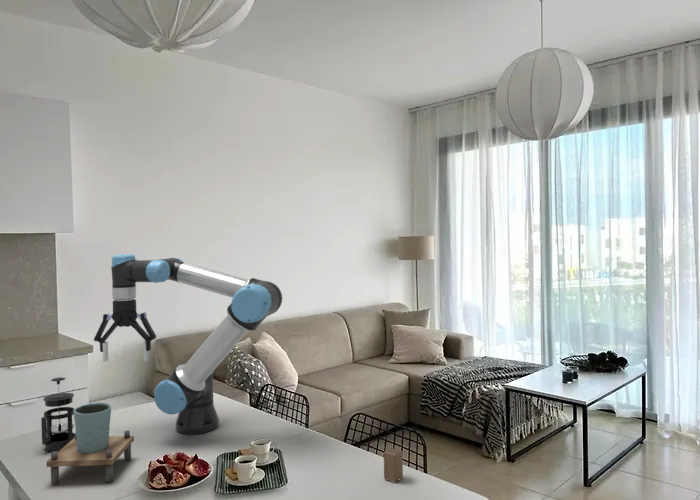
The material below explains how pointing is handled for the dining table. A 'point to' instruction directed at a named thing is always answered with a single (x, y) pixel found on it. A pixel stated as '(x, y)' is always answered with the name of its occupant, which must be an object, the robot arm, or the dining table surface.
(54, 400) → the french press
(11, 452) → the dining table surface
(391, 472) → the wooden block
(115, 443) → the wooden board with feet
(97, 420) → the teal plant pot
